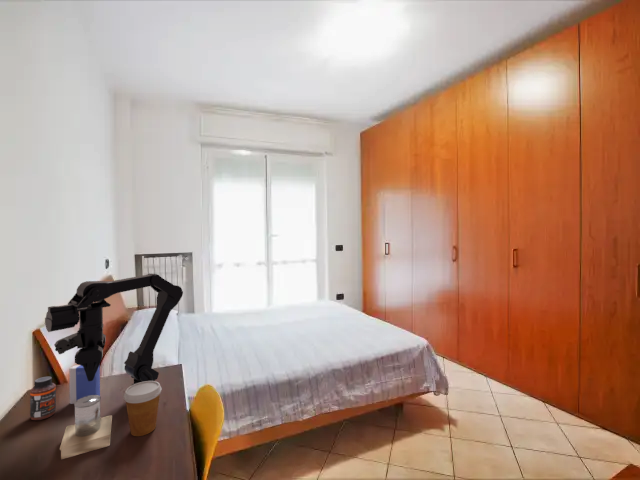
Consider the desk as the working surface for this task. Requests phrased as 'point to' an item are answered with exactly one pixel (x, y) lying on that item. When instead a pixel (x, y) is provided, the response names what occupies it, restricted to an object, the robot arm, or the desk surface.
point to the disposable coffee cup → (142, 406)
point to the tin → (87, 415)
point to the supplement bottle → (42, 399)
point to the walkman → (82, 383)
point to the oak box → (86, 439)
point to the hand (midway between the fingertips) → (92, 374)
